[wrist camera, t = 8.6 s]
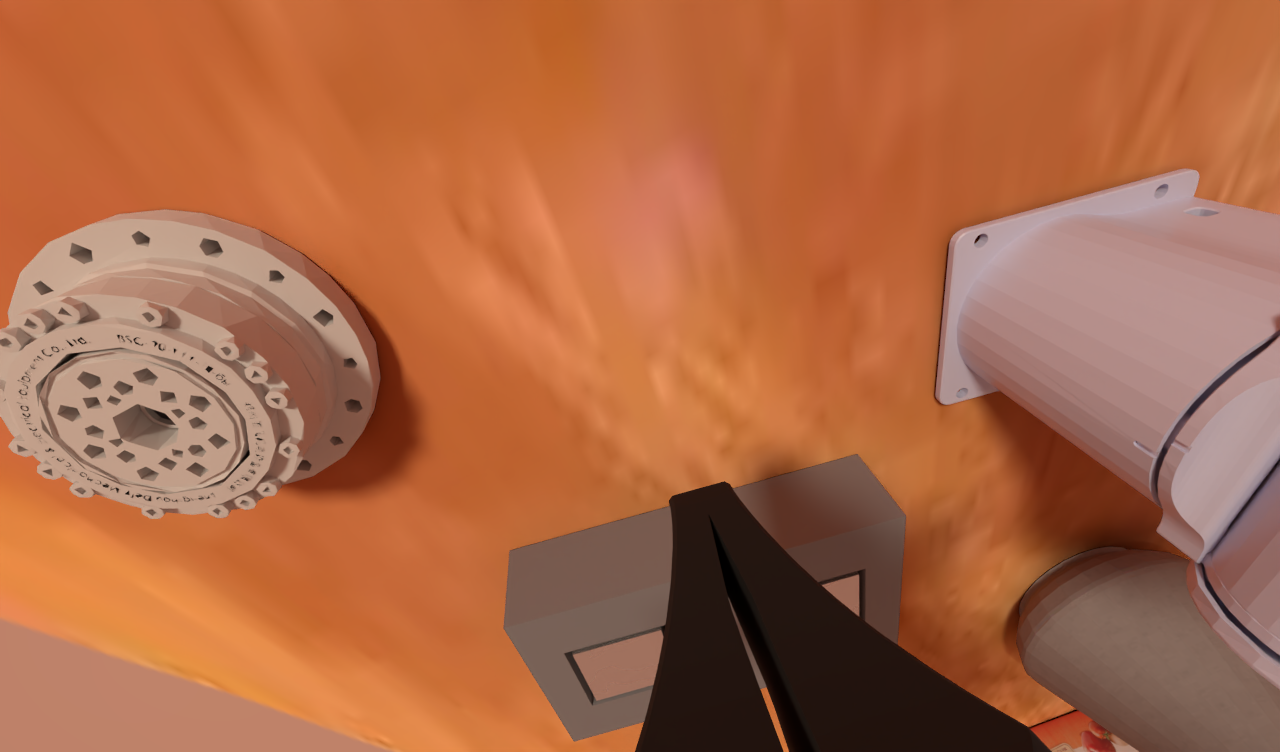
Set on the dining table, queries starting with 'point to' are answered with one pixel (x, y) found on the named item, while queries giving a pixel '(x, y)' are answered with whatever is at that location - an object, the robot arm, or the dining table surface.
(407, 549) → the dining table surface
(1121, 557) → the coffee pot
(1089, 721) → the cracker box
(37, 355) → the mechanical component
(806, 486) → the block
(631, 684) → the greyish pink cube
